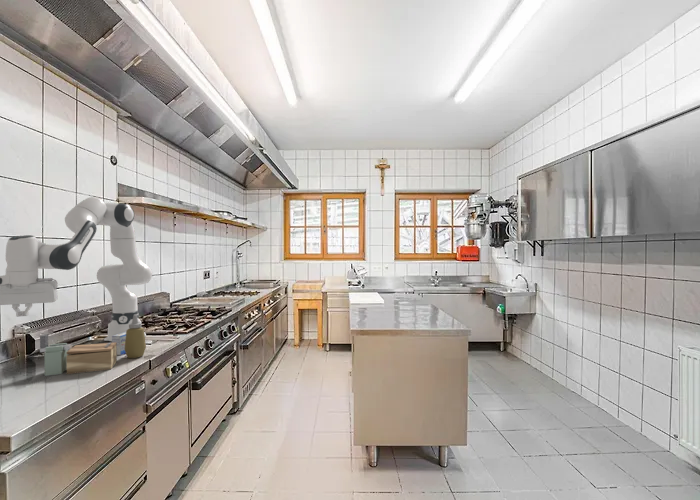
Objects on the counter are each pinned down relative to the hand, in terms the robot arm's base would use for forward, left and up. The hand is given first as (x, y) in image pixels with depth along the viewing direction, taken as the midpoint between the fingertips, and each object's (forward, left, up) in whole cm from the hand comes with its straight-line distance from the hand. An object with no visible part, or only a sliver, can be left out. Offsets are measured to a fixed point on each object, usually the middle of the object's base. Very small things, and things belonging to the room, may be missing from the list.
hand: (22, 316), depth 129 cm
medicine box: (-19, +29, -23) cm, 41 cm away
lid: (0, +22, -15) cm, 26 cm away
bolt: (0, +10, -14) cm, 17 cm away
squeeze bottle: (-10, +35, -22) cm, 42 cm away
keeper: (0, +10, -22) cm, 24 cm away
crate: (0, +22, -22) cm, 31 cm away
